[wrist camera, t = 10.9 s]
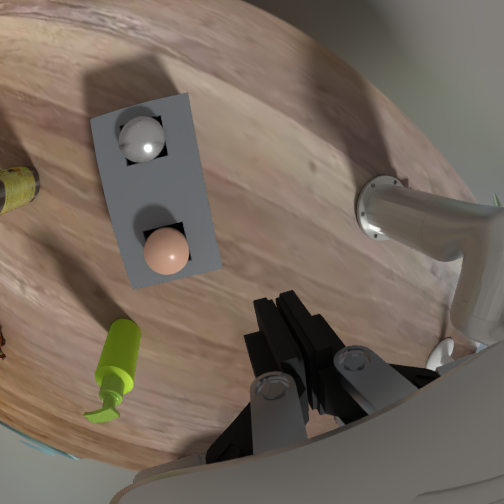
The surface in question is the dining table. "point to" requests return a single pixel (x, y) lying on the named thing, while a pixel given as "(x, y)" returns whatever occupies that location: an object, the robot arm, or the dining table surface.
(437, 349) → the candlestick
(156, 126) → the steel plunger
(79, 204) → the dining table surface
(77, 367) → the dining table surface
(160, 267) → the terracotta plunger
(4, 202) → the sauce bottle
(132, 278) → the button box
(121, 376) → the soap dispenser
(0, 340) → the dragon fruit
